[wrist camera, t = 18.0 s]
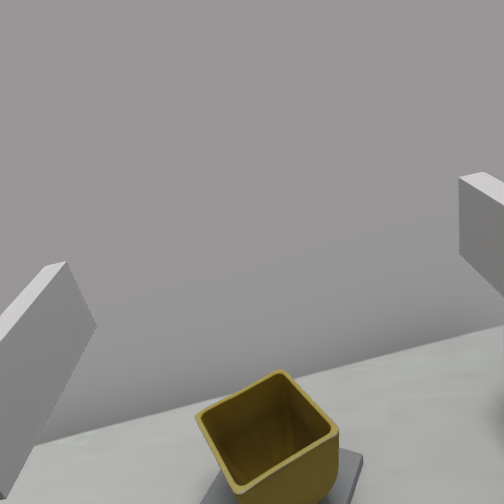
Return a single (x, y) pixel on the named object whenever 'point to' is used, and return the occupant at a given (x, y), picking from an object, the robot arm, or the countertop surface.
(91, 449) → the countertop surface
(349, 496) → the mat
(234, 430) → the flower pot
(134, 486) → the countertop surface
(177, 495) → the countertop surface
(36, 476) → the countertop surface
